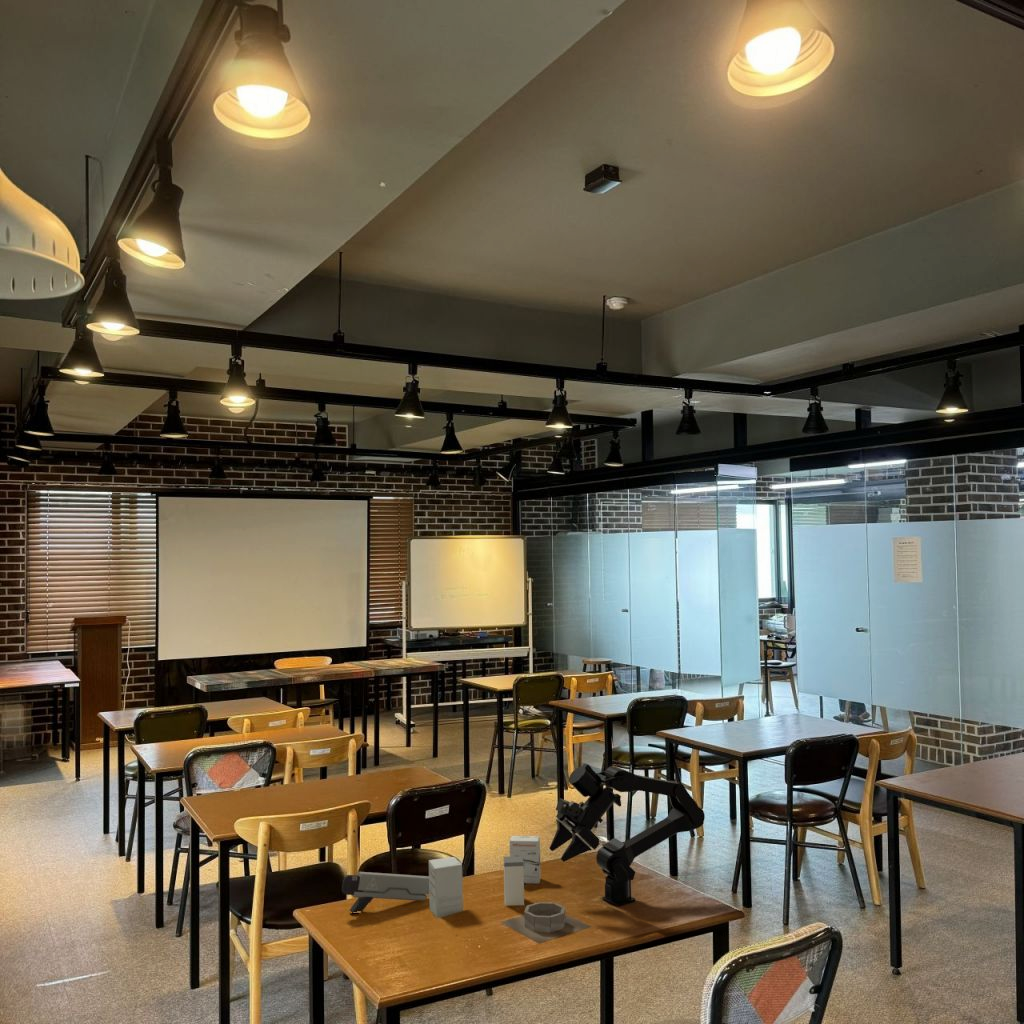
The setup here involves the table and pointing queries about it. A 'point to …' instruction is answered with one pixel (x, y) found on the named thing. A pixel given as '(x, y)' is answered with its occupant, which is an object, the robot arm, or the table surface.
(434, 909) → the supplement box
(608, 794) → the robot arm
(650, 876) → the table surface
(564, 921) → the ring stand
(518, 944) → the table surface
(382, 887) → the gun
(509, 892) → the link block
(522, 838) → the ink box
